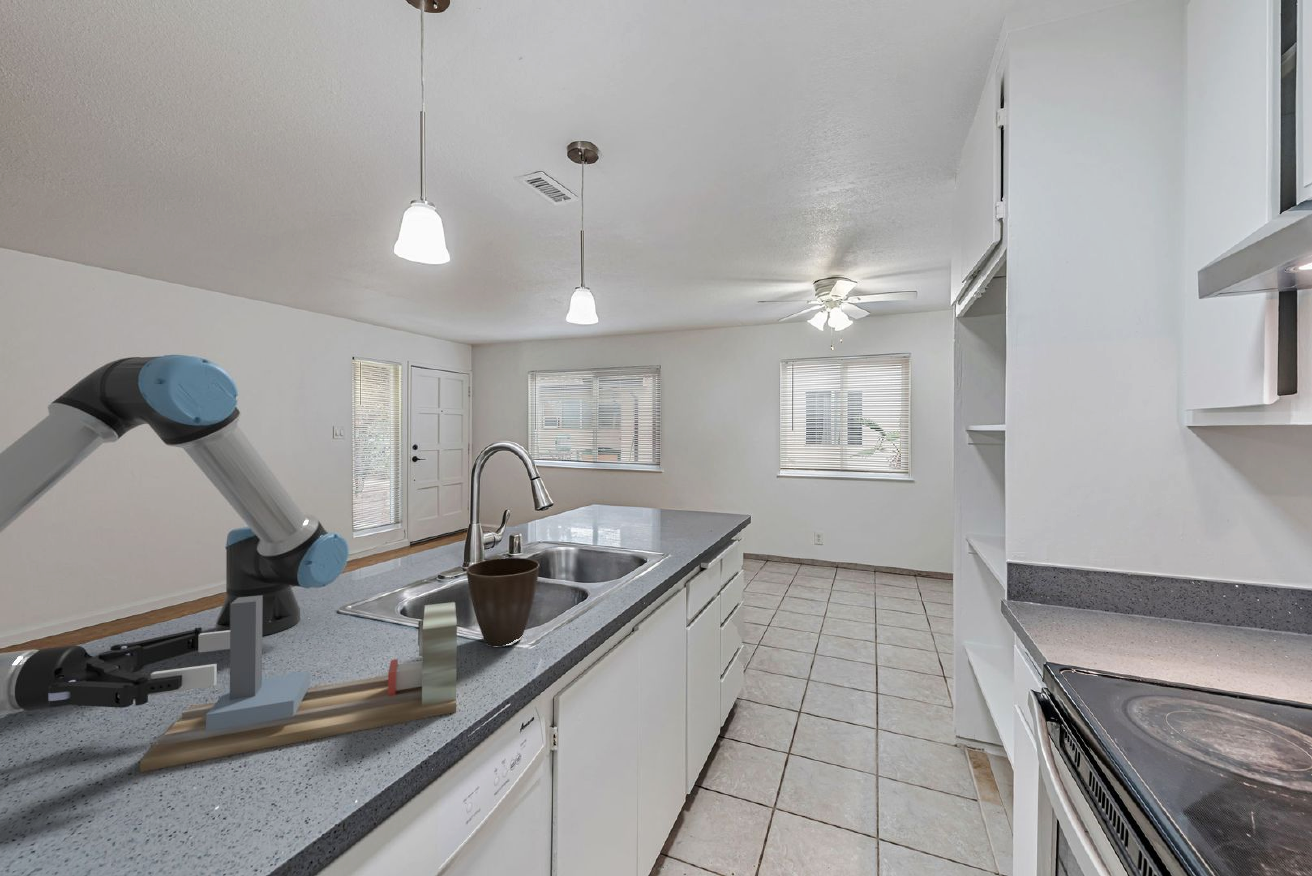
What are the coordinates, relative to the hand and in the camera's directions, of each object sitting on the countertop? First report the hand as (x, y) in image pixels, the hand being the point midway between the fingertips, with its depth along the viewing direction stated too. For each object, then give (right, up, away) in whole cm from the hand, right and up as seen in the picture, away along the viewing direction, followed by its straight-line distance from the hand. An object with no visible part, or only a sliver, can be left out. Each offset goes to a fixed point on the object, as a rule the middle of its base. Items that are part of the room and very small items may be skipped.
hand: (235, 654), depth 74 cm
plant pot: (+29, -12, +34) cm, 46 cm away
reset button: (+21, -10, +10) cm, 26 cm away
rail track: (+10, -11, +5) cm, 16 cm away
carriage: (+3, -9, +2) cm, 9 cm away
